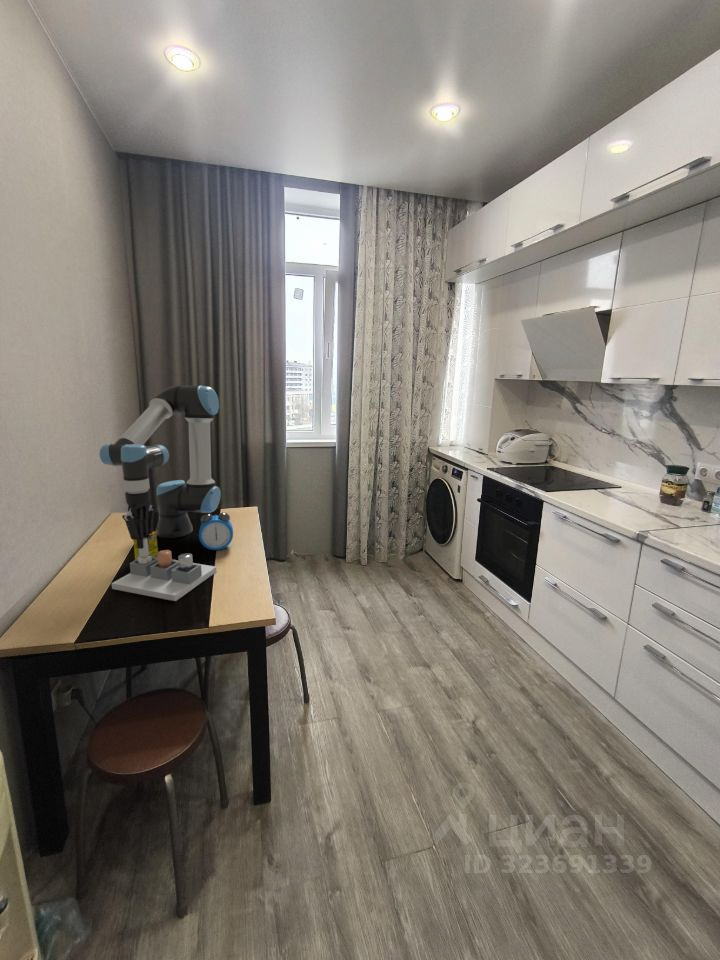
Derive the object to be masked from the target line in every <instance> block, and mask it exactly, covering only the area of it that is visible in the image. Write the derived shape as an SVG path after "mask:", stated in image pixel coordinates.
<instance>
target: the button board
mask: <svg viewBox="0 0 720 960" xmlns="http://www.w3.org/2000/svg"><path fill="white" fill-rule="evenodd" d="M129 570H130V572H129V573H128V574H126V575H124V576H122V577H120V578H119V579H117V580H115V581H113V582H111V589H112V590H117V591H121V592H126V593H131V594H137V595H142V596H147V597H152V598H158V599H162V600H168V601H173V602H177V601H178V600H179V599H181V598H182V597H184V596H185V595H186V594H188V593H189V592H191V591H192V590H193V589H195V588H197V586H199V585H200V584H202V583H203V582H205V581H206V580H207V579H209V578H211V576H213V575H215V573H217V566H214V565H207V564H201V563H195V562H193V569H192V570H190V571H189V572H185V571H179V560H176V559H172V565H171V566H169V567H168V568H162V567H158V558H156V557H152V561H151V562H150V563H148V564H146V565H144V564H138V559H137V560H135V559H134V560H133V561H131V562H129Z"/></svg>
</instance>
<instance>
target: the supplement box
mask: <svg viewBox="0 0 720 960" xmlns="http://www.w3.org/2000/svg"><path fill="white" fill-rule="evenodd" d="M150 535H151V537H150V538H148V540H149V545H148V550H149V554H151V556H152V557H156V558H158V557H157V553H158V552H159V547H158V536H157V535H156V531H154V530H153V533H152V534H150ZM132 542H133V549H134V550H133V551H134V561H135V560H137V559H138V558H137V557H138V556H139V548H138V547H137V540H134V539H132Z"/></svg>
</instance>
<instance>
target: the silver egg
mask: <svg viewBox="0 0 720 960" xmlns="http://www.w3.org/2000/svg"><path fill="white" fill-rule="evenodd" d="M177 559H178V561H179V571H185V572H189V571H190V570H192V569H193V563H194V562H193V561H194V560H193V554H192V553H188V552H187V553H181V554H179V555H178V558H177Z"/></svg>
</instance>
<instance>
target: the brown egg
mask: <svg viewBox="0 0 720 960" xmlns="http://www.w3.org/2000/svg"><path fill="white" fill-rule="evenodd" d="M157 557H158V567H162V568H168V567H169V566H171V565H172V560H173V558H172V551H171V550H169V549H164V550H160V551H159V550H158V553H157Z"/></svg>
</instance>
